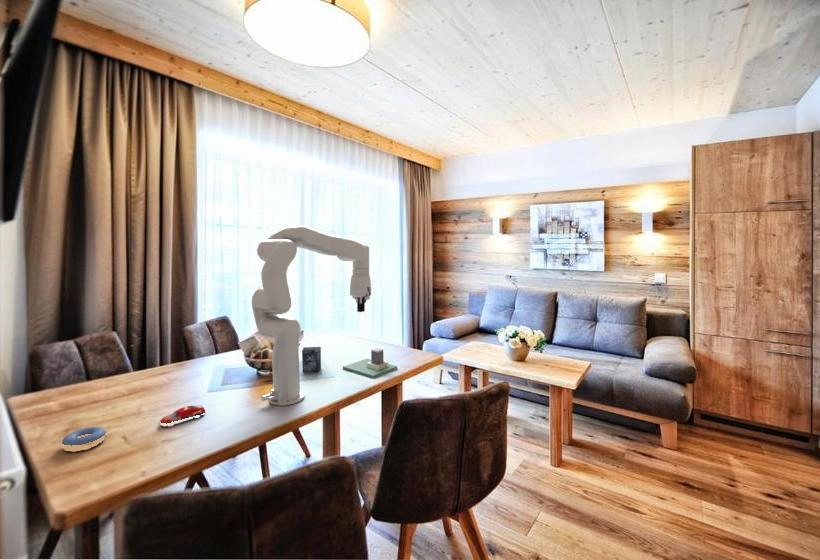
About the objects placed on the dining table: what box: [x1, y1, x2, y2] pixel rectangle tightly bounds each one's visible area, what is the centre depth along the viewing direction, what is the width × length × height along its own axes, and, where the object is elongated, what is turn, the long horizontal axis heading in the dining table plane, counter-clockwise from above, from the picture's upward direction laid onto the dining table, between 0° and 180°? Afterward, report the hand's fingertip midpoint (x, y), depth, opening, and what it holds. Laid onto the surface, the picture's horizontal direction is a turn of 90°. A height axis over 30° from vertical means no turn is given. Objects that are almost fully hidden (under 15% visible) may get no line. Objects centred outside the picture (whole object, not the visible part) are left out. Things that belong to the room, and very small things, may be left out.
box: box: [301, 346, 322, 373], centre depth 172 cm, size 8×6×11 cm
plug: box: [370, 347, 385, 365], centre depth 173 cm, size 4×4×8 cm
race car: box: [159, 404, 206, 424], centre depth 123 cm, size 13×5×4 cm, turn 137°
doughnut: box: [61, 426, 107, 446], centre depth 108 cm, size 10×10×5 cm
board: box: [342, 358, 398, 379], centre depth 174 cm, size 16×20×3 cm
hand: (360, 311), depth 172 cm, fingers closed
